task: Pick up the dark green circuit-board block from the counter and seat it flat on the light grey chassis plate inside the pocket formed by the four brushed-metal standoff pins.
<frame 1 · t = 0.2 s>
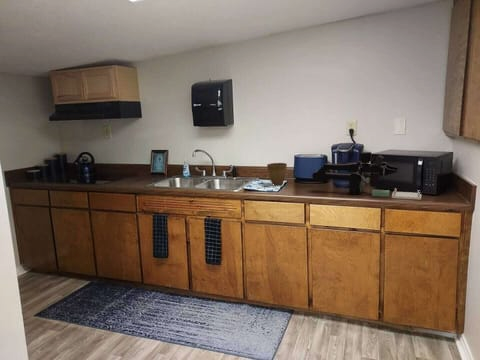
hand: (397, 169, 218), 16 cm above the table, tool horizontal, fingers open, 9 cm apart
circuit board: (380, 195, 225), on the table
plant pot: (277, 185, 271), on the table
chassis plate: (406, 196, 219), on the table
mechanical component: (362, 192, 236), on the table
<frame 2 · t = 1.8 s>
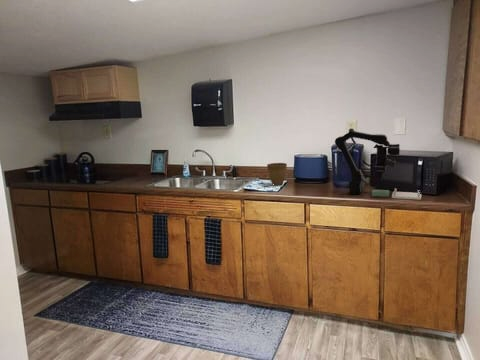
hand: (380, 179, 223), 10 cm above the table, tool pointing down, fingers open, 9 cm apart
nothing on the table moved.
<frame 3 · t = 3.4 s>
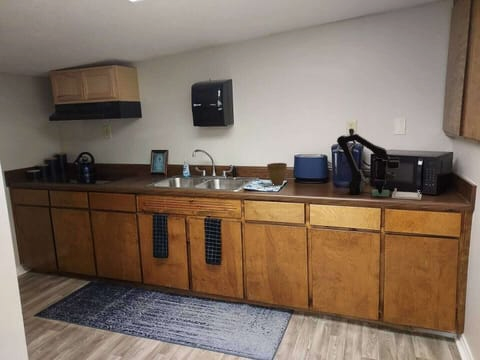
hand: (380, 192, 225), 2 cm above the table, tool pointing down, fingers closed on circuit board, 6 cm apart
circuit board: (380, 195, 225), on the table, touching gripper
everything else where it was.
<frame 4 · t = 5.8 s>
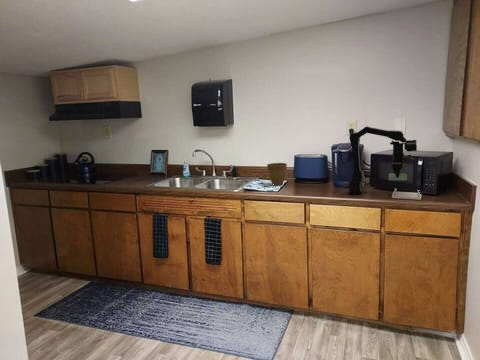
hand: (397, 176, 219), 12 cm above the table, tool pointing down, fingers closed on circuit board, 6 cm apart
circuit board: (397, 179, 219), point 11 cm above the table, touching gripper
everything else where it was.
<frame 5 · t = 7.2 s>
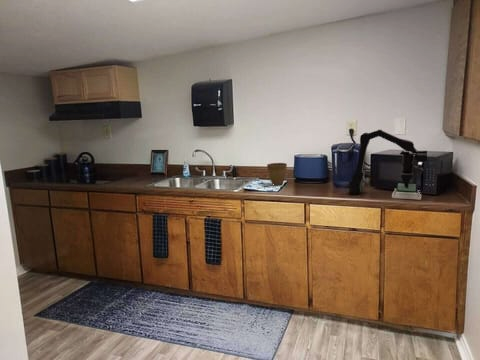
hand: (406, 187, 218), 6 cm above the table, tool pointing down, fingers closed on circuit board, 6 cm apart
circuit board: (406, 189, 218), point 4 cm above the table, touching gripper
everything else where it was.
when the fingers open (4 cm above the table, at t = 8.4 s): circuit board drops 1 cm, resting on chassis plate.
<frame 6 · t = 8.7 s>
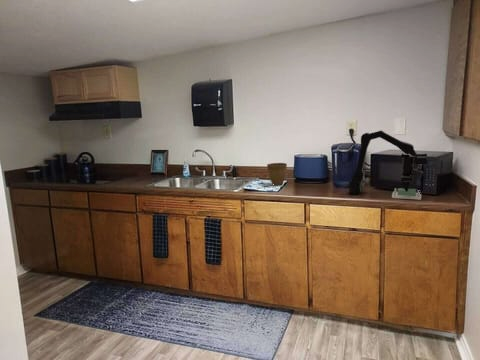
hand: (406, 189, 218), 4 cm above the table, tool pointing down, fingers open, 9 cm apart
circuit board: (406, 194, 218), point 1 cm above the table, touching chassis plate
everything else where it was.
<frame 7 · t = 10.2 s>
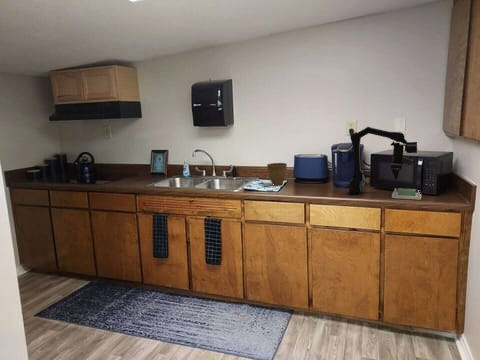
hand: (396, 177, 221), 11 cm above the table, tool pointing down, fingers open, 9 cm apart
nothing on the table moved.
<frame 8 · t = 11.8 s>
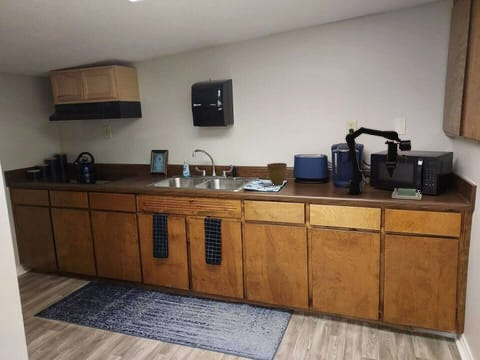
hand: (391, 175, 223), 12 cm above the table, tool pointing down, fingers open, 9 cm apart
nothing on the table moved.
at the end: circuit board 0.1 cm off-centre on the chassis plate, point 1.2 cm above the chassis plate's base; circuit board tilted 0°; the gripper is holding nothing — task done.
